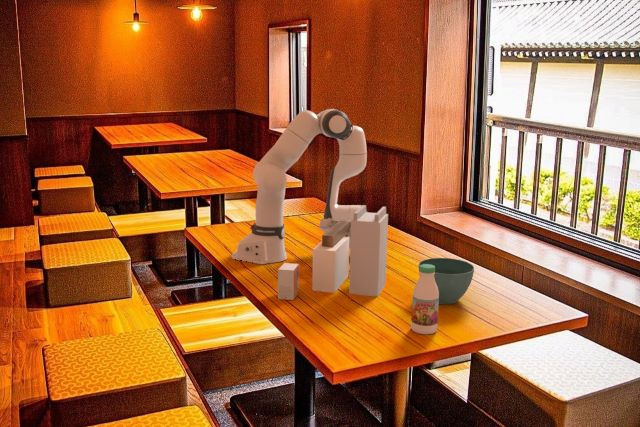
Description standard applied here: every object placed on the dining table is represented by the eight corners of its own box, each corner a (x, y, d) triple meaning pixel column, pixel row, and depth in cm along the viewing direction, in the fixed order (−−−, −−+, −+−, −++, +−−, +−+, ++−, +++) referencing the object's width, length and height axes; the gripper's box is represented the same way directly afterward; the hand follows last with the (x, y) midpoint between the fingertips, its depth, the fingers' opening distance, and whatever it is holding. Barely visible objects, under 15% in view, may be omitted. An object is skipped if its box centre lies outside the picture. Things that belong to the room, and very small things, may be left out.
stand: (349, 293, 227) (351, 213, 221) (358, 281, 241) (360, 204, 234) (377, 296, 225) (380, 215, 218) (385, 284, 238) (388, 207, 232)
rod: (321, 246, 230) (322, 235, 229) (339, 230, 253) (339, 220, 252) (333, 247, 229) (333, 236, 228) (349, 231, 252) (349, 221, 251)
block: (312, 290, 230) (312, 249, 227) (327, 273, 249) (328, 235, 246) (334, 292, 228) (335, 251, 225) (348, 275, 247) (349, 237, 243)
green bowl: (460, 314, 210) (462, 277, 208) (408, 302, 220) (409, 267, 217) (479, 297, 225) (481, 263, 223) (429, 287, 235) (431, 254, 232)
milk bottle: (408, 325, 200) (411, 262, 196) (433, 324, 201) (437, 261, 197) (414, 335, 193) (417, 270, 189) (440, 334, 194) (443, 269, 189)
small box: (293, 300, 220) (293, 270, 218) (277, 299, 221) (277, 269, 219) (299, 292, 228) (299, 263, 225) (283, 291, 229) (283, 262, 226)
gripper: (325, 221, 264) (316, 211, 251) (375, 226, 258) (369, 215, 245) (322, 237, 262) (314, 226, 249) (373, 241, 256) (366, 231, 244)
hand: (341, 221), depth 247 cm, fingers open, 8 cm apart
